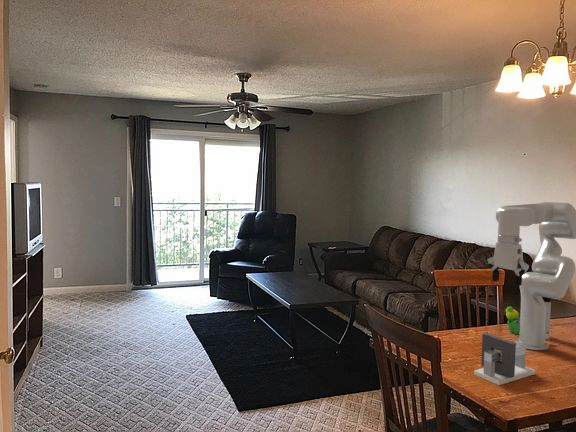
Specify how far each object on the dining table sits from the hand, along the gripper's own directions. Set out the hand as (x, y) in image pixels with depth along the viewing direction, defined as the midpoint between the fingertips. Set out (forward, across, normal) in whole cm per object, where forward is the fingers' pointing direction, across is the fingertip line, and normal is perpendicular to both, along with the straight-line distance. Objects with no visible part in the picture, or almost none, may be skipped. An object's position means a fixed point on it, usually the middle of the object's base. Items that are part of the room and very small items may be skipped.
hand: (506, 283), depth 178 cm
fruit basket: (+31, +20, -36) cm, 51 cm away
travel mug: (+31, +9, -39) cm, 50 cm away
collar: (+28, -10, +17) cm, 35 cm away
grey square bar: (+24, -10, +13) cm, 29 cm away
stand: (+30, -10, +13) cm, 34 cm away
